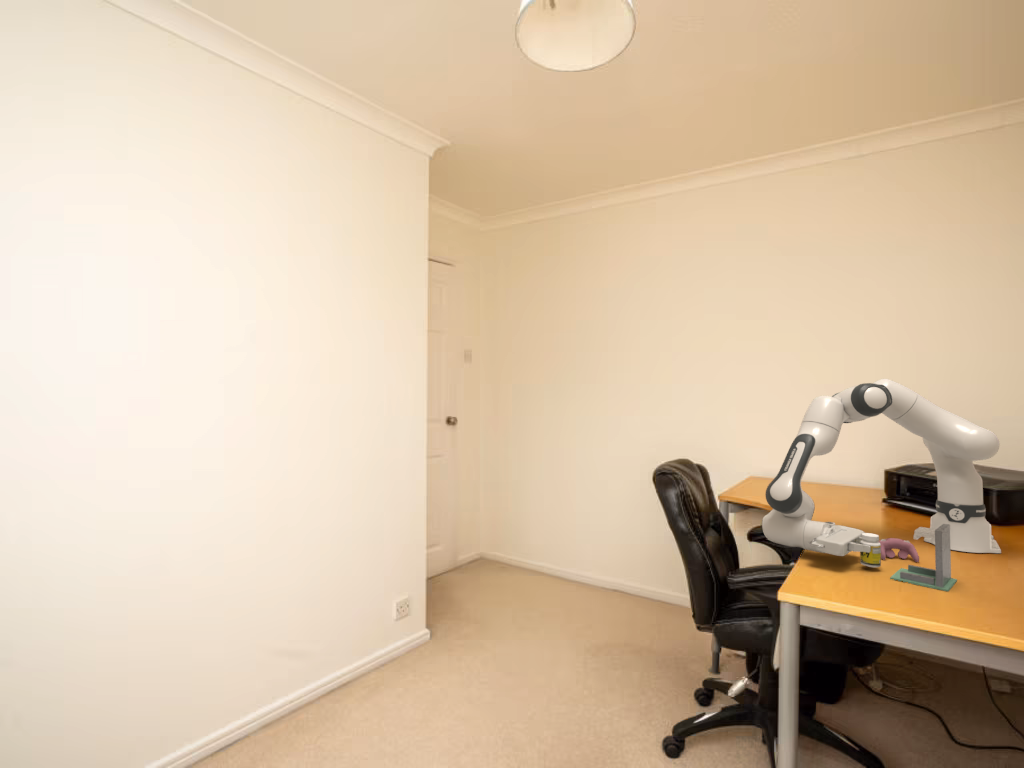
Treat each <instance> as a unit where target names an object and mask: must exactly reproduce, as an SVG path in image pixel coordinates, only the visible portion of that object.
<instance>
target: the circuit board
mask: <svg viewBox="0 0 1024 768" xmlns="http://www.w3.org/2000/svg"><path fill="white" fill-rule="evenodd" d="M900 572H906V573H911V574H916V575H921V576H926V577H931V578H935V585H929V584H924V583H919V582H915V581H910V580H905V579H900ZM889 579H890V580H891V579H894V580H893V581H896V580H898V582H901V581H903V582H902V583H905V582H908V583H907V584H910V583H911V585H916V586H919V585H920V587H925V588H930V589H934V590H938V591H942V592H950V590H951V589H952V588H953V587H954V585H955V584H956V583H957V581H958V579H957V578H952V577H951V579H950V580H949V582H948V583H947V584H946V585H945V586H944V587H943V588H941V587H936V577H934V576H929V575H924V574H919V573H914V572H909V571H908V568H902V567H901V568H899V569H898V570H897V571H896V572H894V573H893V574H892V575H891V576H890V577H889Z"/></svg>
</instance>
